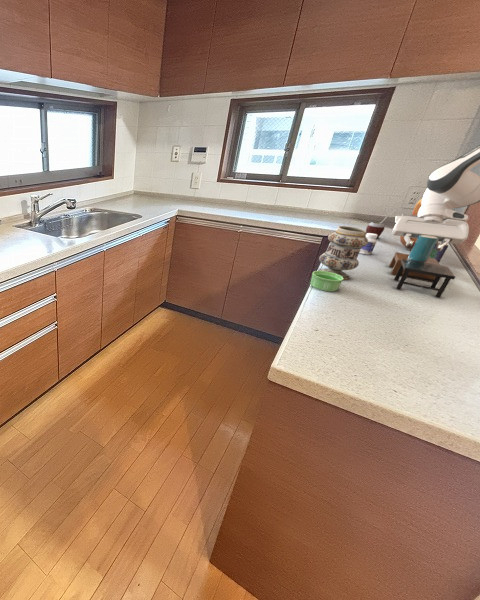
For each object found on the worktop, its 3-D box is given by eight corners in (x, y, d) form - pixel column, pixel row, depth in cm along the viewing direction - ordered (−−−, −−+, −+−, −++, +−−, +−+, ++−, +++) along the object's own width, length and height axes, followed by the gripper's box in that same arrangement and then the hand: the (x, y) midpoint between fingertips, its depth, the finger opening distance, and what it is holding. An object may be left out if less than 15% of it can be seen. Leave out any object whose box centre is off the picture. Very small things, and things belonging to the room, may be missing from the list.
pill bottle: (370, 255, 147) (379, 236, 143) (356, 252, 150) (364, 234, 146) (371, 252, 151) (379, 234, 147) (357, 250, 154) (365, 231, 150)
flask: (409, 261, 140) (421, 237, 135) (407, 260, 142) (419, 236, 138) (438, 266, 136) (452, 241, 131) (436, 264, 138) (449, 240, 133)
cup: (425, 259, 125) (437, 236, 121) (427, 262, 121) (440, 239, 117) (407, 256, 128) (418, 233, 124) (408, 259, 124) (420, 236, 120)
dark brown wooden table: (435, 287, 116) (447, 266, 112) (442, 298, 107) (455, 276, 104) (392, 278, 122) (402, 258, 119) (394, 289, 114) (405, 267, 110)
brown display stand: (428, 273, 129) (435, 258, 126) (433, 282, 120) (441, 267, 117) (388, 266, 135) (395, 252, 132) (390, 274, 126) (398, 259, 124)
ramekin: (307, 280, 119) (311, 268, 117) (336, 285, 116) (341, 273, 114) (309, 288, 112) (314, 277, 110) (341, 294, 109) (346, 282, 107)
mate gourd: (361, 235, 179) (373, 207, 173) (379, 237, 176) (391, 209, 170) (365, 238, 173) (377, 210, 167) (383, 240, 170) (396, 211, 164)
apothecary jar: (359, 282, 119) (381, 233, 110) (323, 279, 120) (342, 231, 112) (341, 270, 129) (360, 225, 121) (309, 267, 131) (325, 223, 123)
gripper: (400, 208, 128) (390, 238, 125) (475, 216, 117) (466, 248, 114) (394, 218, 133) (384, 246, 130) (465, 226, 122) (456, 257, 119)
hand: (423, 247), depth 122 cm, fingers open, 7 cm apart
